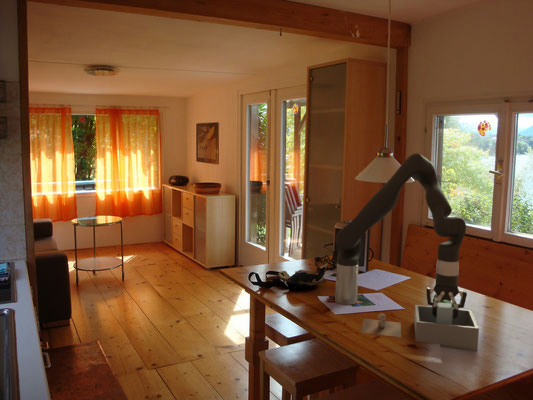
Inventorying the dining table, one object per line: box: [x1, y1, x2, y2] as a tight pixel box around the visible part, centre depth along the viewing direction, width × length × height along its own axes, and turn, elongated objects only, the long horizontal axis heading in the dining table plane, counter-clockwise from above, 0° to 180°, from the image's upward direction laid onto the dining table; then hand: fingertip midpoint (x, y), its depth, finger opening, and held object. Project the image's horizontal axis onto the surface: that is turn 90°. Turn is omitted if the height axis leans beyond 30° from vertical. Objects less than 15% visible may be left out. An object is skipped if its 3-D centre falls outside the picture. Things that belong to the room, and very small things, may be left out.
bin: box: [413, 304, 480, 352], centre depth 169 cm, size 20×18×8 cm
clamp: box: [432, 293, 454, 308], centre depth 195 cm, size 12×6×9 cm, turn 176°
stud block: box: [361, 313, 402, 338], centre depth 175 cm, size 14×14×6 cm
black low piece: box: [277, 263, 329, 287], centre depth 231 cm, size 22×30×8 cm
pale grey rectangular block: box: [436, 303, 453, 325], centre depth 169 cm, size 5×5×11 cm
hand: (444, 317), depth 169 cm, fingers open, 6 cm apart
